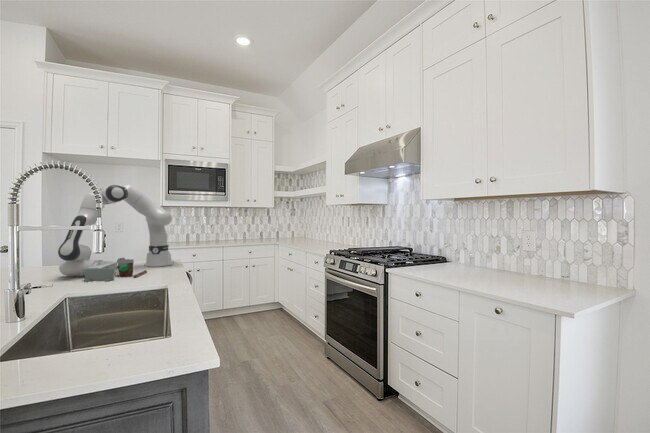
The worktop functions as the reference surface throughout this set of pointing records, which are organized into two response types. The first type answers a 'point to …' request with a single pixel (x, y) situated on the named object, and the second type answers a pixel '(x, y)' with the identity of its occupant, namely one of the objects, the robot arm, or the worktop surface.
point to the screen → (99, 275)
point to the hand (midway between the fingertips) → (118, 267)
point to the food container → (125, 267)
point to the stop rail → (140, 273)
